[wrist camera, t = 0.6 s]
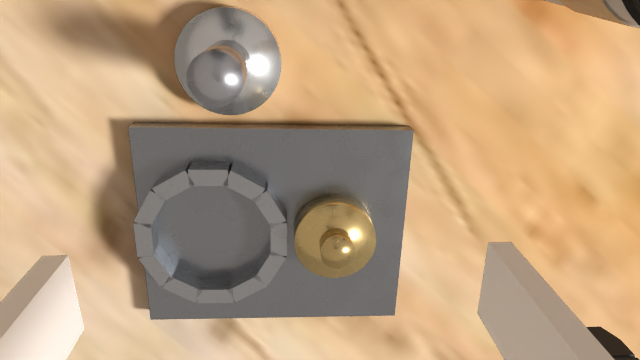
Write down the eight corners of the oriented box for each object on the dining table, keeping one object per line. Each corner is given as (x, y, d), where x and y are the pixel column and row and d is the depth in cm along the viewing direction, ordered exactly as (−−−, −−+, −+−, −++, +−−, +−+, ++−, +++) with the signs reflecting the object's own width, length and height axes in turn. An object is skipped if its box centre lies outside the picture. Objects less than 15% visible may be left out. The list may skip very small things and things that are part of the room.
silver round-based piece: (174, 4, 32) (141, 8, 24) (281, 8, 32) (280, 12, 25) (182, 109, 34) (154, 141, 27) (281, 110, 35) (280, 142, 27)
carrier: (133, 122, 34) (110, 142, 30) (409, 126, 36) (427, 145, 31) (154, 310, 40) (137, 350, 36) (391, 306, 42) (404, 344, 37)
